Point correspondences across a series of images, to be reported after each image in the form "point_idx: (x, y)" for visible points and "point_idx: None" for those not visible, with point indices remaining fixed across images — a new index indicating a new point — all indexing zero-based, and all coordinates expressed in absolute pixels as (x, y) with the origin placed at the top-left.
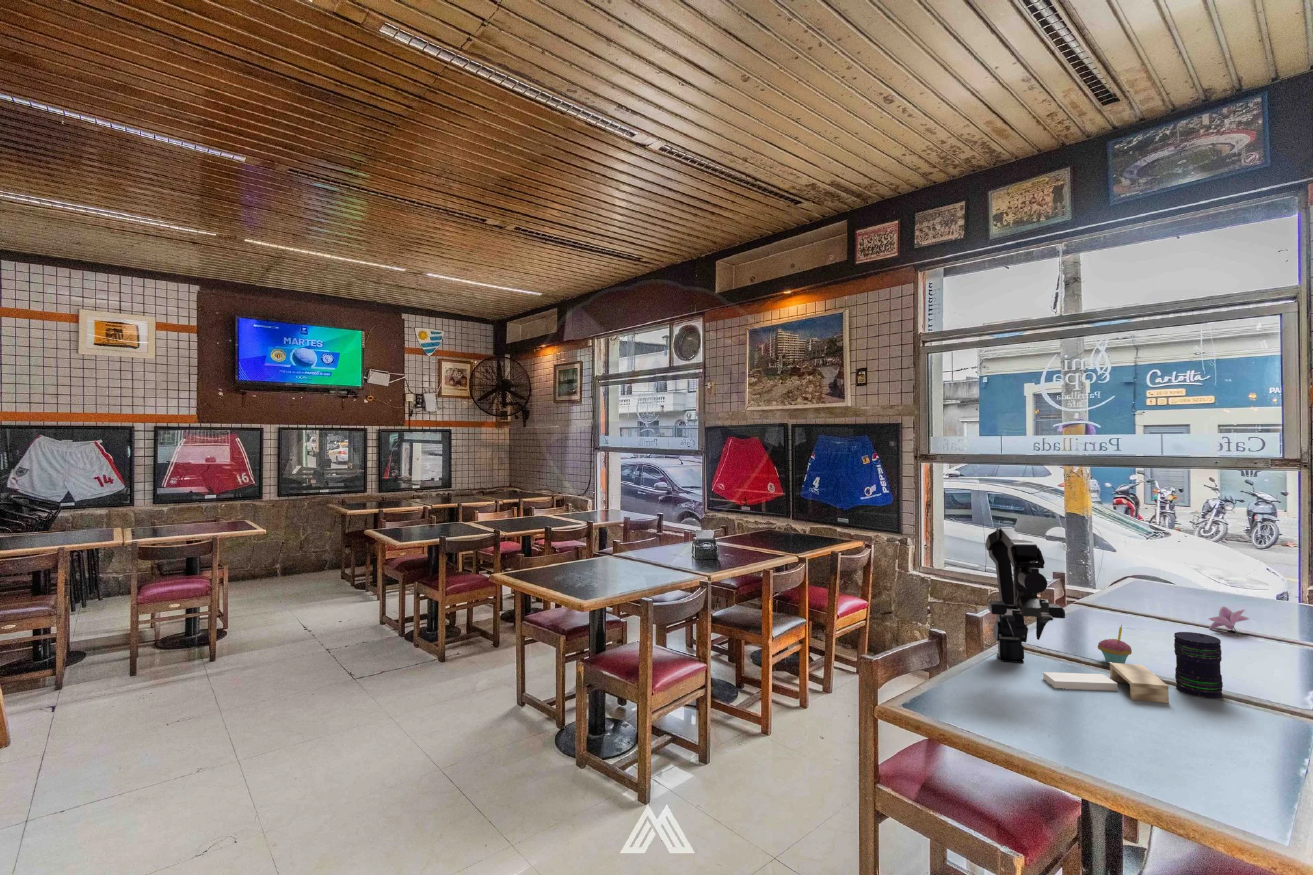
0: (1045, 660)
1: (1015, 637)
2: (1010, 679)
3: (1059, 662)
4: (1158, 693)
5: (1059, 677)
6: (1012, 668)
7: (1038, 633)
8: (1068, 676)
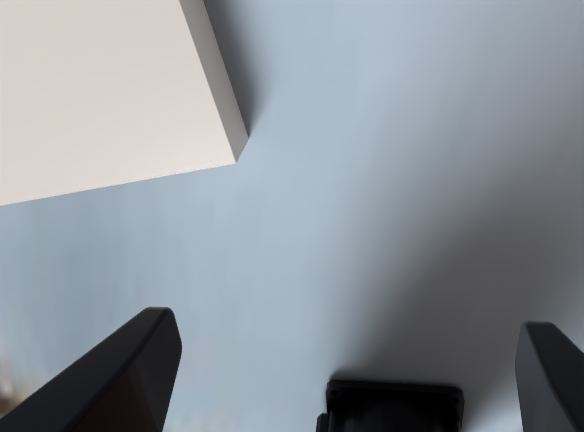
0: (207, 426)
1: (536, 327)
2: (513, 49)
3: None
4: None
5: (124, 68)
6: (421, 288)
7: (106, 379)
8: (64, 114)
